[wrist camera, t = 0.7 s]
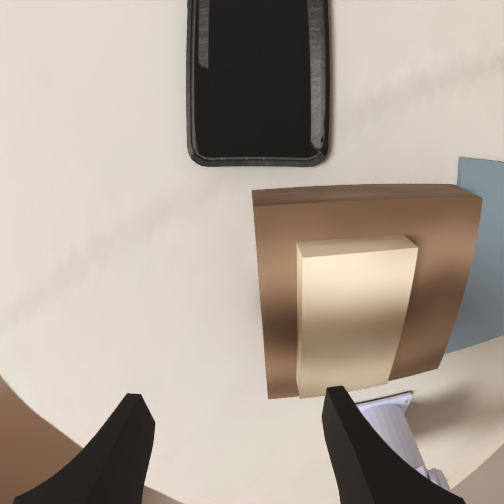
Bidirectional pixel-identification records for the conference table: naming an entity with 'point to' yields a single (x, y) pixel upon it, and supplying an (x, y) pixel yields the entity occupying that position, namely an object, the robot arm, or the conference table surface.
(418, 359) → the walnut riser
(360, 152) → the conference table surface
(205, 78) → the phone
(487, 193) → the rubber mat
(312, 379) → the birch block
